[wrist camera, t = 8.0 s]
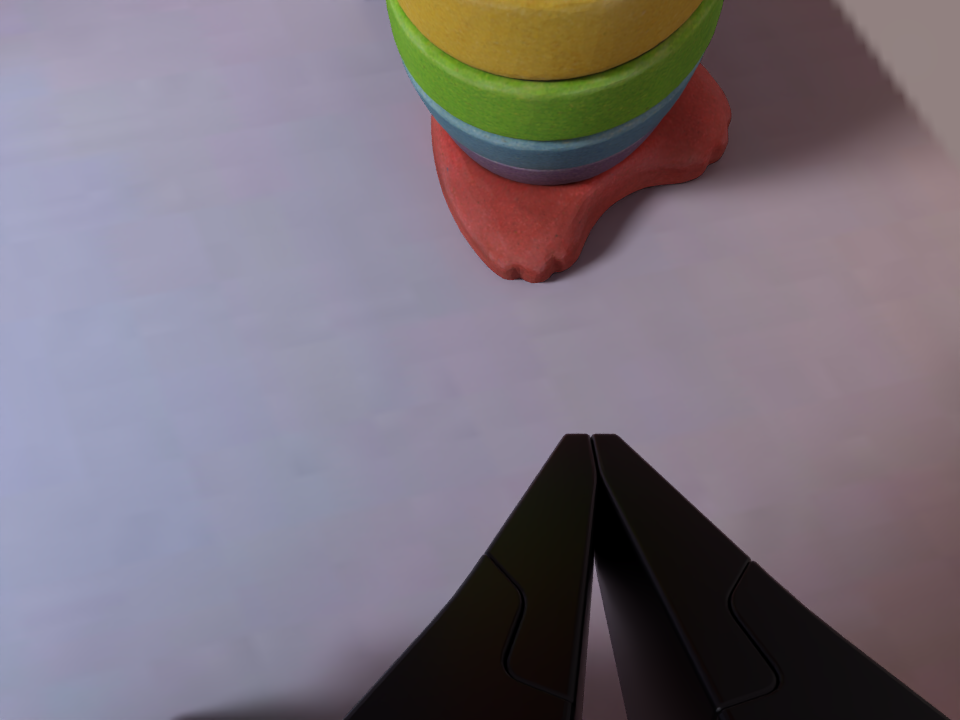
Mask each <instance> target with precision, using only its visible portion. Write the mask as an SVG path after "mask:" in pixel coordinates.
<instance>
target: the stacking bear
mask: <svg viewBox="0 0 960 720" xmlns="http://www.w3.org/2000/svg"><path fill="white" fill-rule="evenodd" d="M723 1H724V0H386V4H387V10H388V14H389V19H390V23H391V28H392V32H393V36H394V39H395V42H396V45H397V48H398V50H399V53H400V55H401V59H402V62H403V64H404V67H405V70H406V72H407V74H408V76H409V78H410V80H411V82H412V84H413V85H414V87H415V89H416V91H417V92H418V94H419V96H420V97H421V99H422V101H423V102H424V104H425V105H426V107H427V108H428V110H429V111H430V113H431V114H432V116H431V134H432V146H433V153H434V160H435V165H436V170H437V174H438V178H439V181H440V185H441V188H442V192H443V194H444V197H445V199H446V202H447V205H448V207H449V209H450V211H451V213H452V215H453V217H454V219H455V221H456V223H457V225H458V227H459V229H460V231H461V232H462V234H463V235H464V237H465V238H466V240H467V241H468V243H469V244H470V245H471V247H472V248H473V249H474V251H475V252H476V253H477V255H478V256H479V257H480V258H481V260H482V261H483V262H484V263H485V264H486V265H487V266H488V267H489V268H490V269H491V270H492V271H493V272H495V273H496V274H497V275H499V276H500V277H502V278H503V279H507V280H514V279H518V278H521V279H524V280H525V281H528V282H530V283H539V282H543V281H545V280H547V279H548V278H549V277H550V276H551V275H552V274H553V273H555V272H561V271H564V270H566V269H568V268H569V267H571V266H572V265H573V264H574V263H575V261H576V260H577V259H578V257H579V255H580V253H581V251H582V248H583V246H584V244H585V241H586V239H587V237H588V235H589V233H590V231H591V229H592V228H593V226H594V225H595V223H596V222H597V221H598V219H599V218H600V217H601V216H602V214H603V213H604V212H605V211H606V210H607V209H608V208H609V207H610V206H612V205H613V204H614V203H616V202H617V201H619V200H620V199H622V198H624V197H625V196H627V195H629V194H631V193H633V192H635V191H637V190H640V189H643V188H646V187H650V186H656V185H665V184H676V183H683V182H686V181H689V180H693V179H695V178H697V177H699V176H700V175H702V174H703V172H704V171H705V169H706V167H707V165H709V164H711V163H714V162H716V161H718V160H719V159H720V158H721V156H722V155H723V153H724V151H725V149H726V146H727V143H728V126H729V124H730V121H731V109H730V106H729V103H728V100H727V98H726V96H725V94H724V92H723V91H722V90H721V88H720V87H719V85H718V84H717V83H716V81H715V80H714V79H713V77H712V76H711V75H710V74H709V72H708V71H707V70H706V69H705V68H704V67H703V65H702V64H701V63H700V61H701V59H702V57H703V55H704V52H705V50H706V48H707V47H708V45H709V43H710V41H711V38H712V36H713V34H714V31H715V28H716V25H717V22H718V19H719V16H720V13H721V9H722V5H723Z"/></svg>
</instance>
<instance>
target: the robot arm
mask: <svg viewBox="0 0 960 720" xmlns="http://www.w3.org/2000/svg"><path fill="white" fill-rule="evenodd" d="M594 559H595V566H596V571H597V577H598V582H599V586H600V591H601V596H602V600H603V605H604V610H605V615H606V619H607V624H608V629H609V634H610V638H611V643H612V648H613V652H614V657H615V662H616V667H617V671H618V676H619V681H620V685H621V690H622V695H623V700H624V704H625V709H626V714H627V719H628V720H950V719H949V718H948V717H946V716H945V715H944V714H943V713H941V712H940V711H939V710H937V709H936V708H935V707H933V706H932V705H931V704H930V703H928V702H927V701H926V700H924V699H923V698H922V697H921V696H919V695H918V694H917V693H915V692H914V691H913V690H911V689H910V688H909V687H908V686H906V685H905V684H904V683H902V682H901V681H900V680H898V679H897V678H896V677H895V676H893V675H892V674H891V673H889V672H888V671H887V670H885V669H884V668H883V667H882V666H880V665H879V664H878V663H876V662H875V661H874V660H873V659H871V658H870V657H869V656H867V655H866V654H865V653H863V652H862V651H861V650H860V649H858V648H857V647H856V646H854V645H853V644H852V643H850V642H849V641H848V640H847V639H845V638H844V637H843V636H842V635H840V634H839V633H838V632H837V631H835V630H834V629H833V628H832V627H830V626H829V625H828V624H827V623H825V622H824V621H823V620H822V619H820V618H819V617H818V616H817V615H815V614H814V613H813V612H812V611H810V610H809V609H808V608H807V607H805V606H804V605H803V604H802V603H801V602H800V601H799V600H797V599H796V598H795V597H794V596H793V595H792V594H791V593H789V592H788V591H787V590H786V589H785V588H784V587H783V586H782V585H780V584H779V583H778V582H777V581H776V580H775V579H774V578H772V577H771V576H770V575H769V574H768V573H767V572H766V571H765V570H764V569H763V568H762V567H761V566H760V565H758V564H757V563H756V562H755V561H751V559H750V557H749V556H747V555H746V554H745V553H744V552H743V551H742V550H741V549H740V548H739V547H738V546H737V545H736V544H735V543H733V542H732V541H731V540H730V539H729V538H728V537H727V536H726V535H725V534H724V533H723V532H722V531H721V530H719V529H718V528H717V527H716V526H715V525H714V524H713V523H712V522H711V521H710V520H709V519H708V518H707V517H705V516H704V515H703V514H702V513H701V512H700V511H699V510H698V509H697V508H696V507H695V506H694V505H693V504H691V503H690V502H689V501H688V500H687V499H686V498H685V497H684V496H683V495H682V494H681V493H680V492H679V491H677V490H676V489H675V488H674V487H673V486H672V485H671V484H670V483H669V482H668V481H667V480H666V479H665V478H663V477H662V476H661V475H660V474H659V473H658V472H657V471H656V470H655V469H654V468H653V467H652V466H650V465H649V464H648V463H647V462H646V461H645V460H644V459H643V458H642V457H641V456H640V455H639V454H638V453H636V452H635V451H634V450H633V449H632V448H631V447H630V446H629V445H628V444H627V443H626V442H625V441H624V440H622V439H621V438H620V437H619V436H618V435H616V434H593V435H592V436H591V437H590V436H589V435H588V434H565V435H564V436H563V437H562V439H561V440H560V442H559V443H558V445H557V446H556V448H555V449H554V451H553V452H552V454H551V455H550V457H549V458H548V460H547V461H546V463H545V464H544V466H543V467H542V469H541V470H540V472H539V473H538V474H537V476H536V477H535V479H534V480H533V482H532V483H531V485H530V486H529V488H528V489H527V491H526V492H525V494H524V495H523V497H522V498H521V500H520V501H519V503H518V504H517V506H516V507H515V509H514V510H513V511H512V513H511V514H510V516H509V517H508V519H507V520H506V522H505V523H504V525H503V526H502V528H501V529H500V531H499V532H498V534H497V535H496V537H495V538H494V540H493V541H492V543H491V544H490V546H489V547H488V549H487V550H486V551H485V555H482V556H481V558H480V559H479V561H478V562H477V564H476V565H475V567H474V568H473V570H472V571H471V573H470V574H469V575H468V577H467V578H466V579H465V581H464V582H463V583H462V585H461V586H460V587H459V589H458V590H457V591H456V593H455V594H454V596H453V597H452V598H451V599H450V600H449V602H448V603H447V604H446V605H445V606H444V607H443V609H442V610H441V611H440V612H439V613H438V614H437V616H436V617H435V618H434V619H433V620H432V621H431V623H430V624H429V625H428V626H427V627H426V628H425V629H424V630H423V632H422V633H421V634H420V635H419V636H418V637H417V638H416V639H415V640H414V641H413V643H412V644H411V645H410V646H409V647H408V648H407V649H406V650H405V651H404V652H403V654H402V655H401V656H400V657H399V658H398V659H397V660H396V661H395V662H394V663H393V665H392V666H391V667H390V668H389V669H388V670H387V671H386V672H385V673H384V674H383V676H382V677H381V678H380V679H379V680H378V681H377V682H376V683H375V684H374V686H373V687H372V688H371V689H370V690H369V691H368V692H367V693H366V694H365V695H364V697H363V698H362V699H361V700H360V701H359V702H358V703H357V704H356V705H355V706H354V708H353V709H352V710H351V711H350V712H349V713H348V714H347V715H346V716H345V717H344V719H343V720H582V710H583V697H584V684H585V672H586V659H587V646H588V633H589V620H590V608H591V595H592V582H593V566H594Z"/></svg>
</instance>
